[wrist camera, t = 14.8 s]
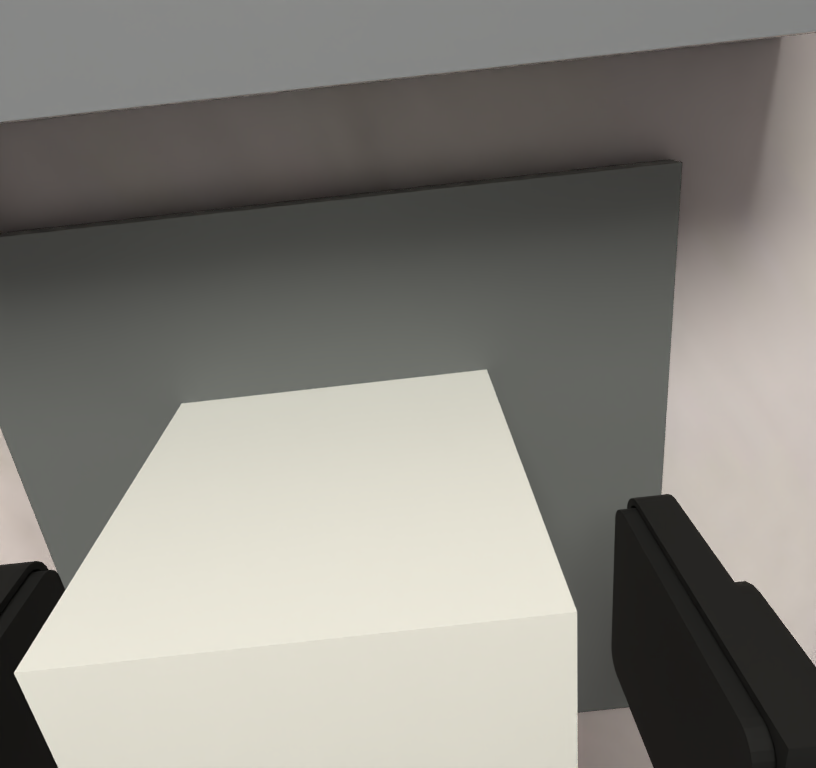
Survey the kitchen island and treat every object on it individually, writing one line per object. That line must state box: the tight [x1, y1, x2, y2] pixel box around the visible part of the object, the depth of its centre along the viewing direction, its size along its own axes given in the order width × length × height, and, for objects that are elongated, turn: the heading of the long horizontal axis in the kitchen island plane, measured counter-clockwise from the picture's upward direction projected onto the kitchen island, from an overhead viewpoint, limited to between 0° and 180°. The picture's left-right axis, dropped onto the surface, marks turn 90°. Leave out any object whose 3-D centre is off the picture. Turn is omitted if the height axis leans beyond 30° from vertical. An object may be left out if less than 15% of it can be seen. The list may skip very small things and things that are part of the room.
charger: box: [14, 369, 578, 768], centre depth 9 cm, size 5×5×6 cm
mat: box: [0, 160, 682, 713], centre depth 12 cm, size 11×11×1 cm
